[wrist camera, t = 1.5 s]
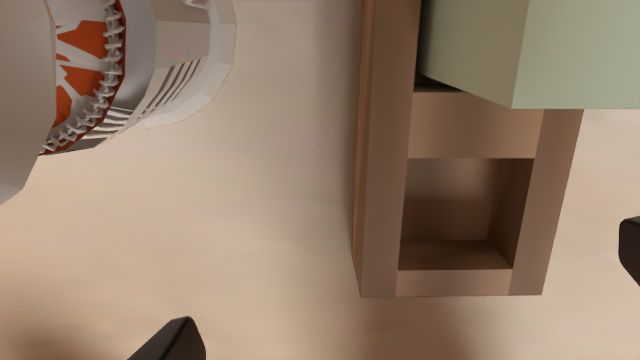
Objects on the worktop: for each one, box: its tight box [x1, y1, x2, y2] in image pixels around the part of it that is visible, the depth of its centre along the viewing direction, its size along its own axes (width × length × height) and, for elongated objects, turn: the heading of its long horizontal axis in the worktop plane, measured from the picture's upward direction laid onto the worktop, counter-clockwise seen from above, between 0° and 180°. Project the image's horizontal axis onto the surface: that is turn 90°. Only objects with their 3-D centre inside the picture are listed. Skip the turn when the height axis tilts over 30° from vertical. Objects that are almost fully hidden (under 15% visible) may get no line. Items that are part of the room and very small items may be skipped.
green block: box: [415, 0, 640, 109], centre depth 14 cm, size 4×4×10 cm
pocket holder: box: [352, 0, 584, 298], centre depth 19 cm, size 9×17×4 cm, turn 179°
